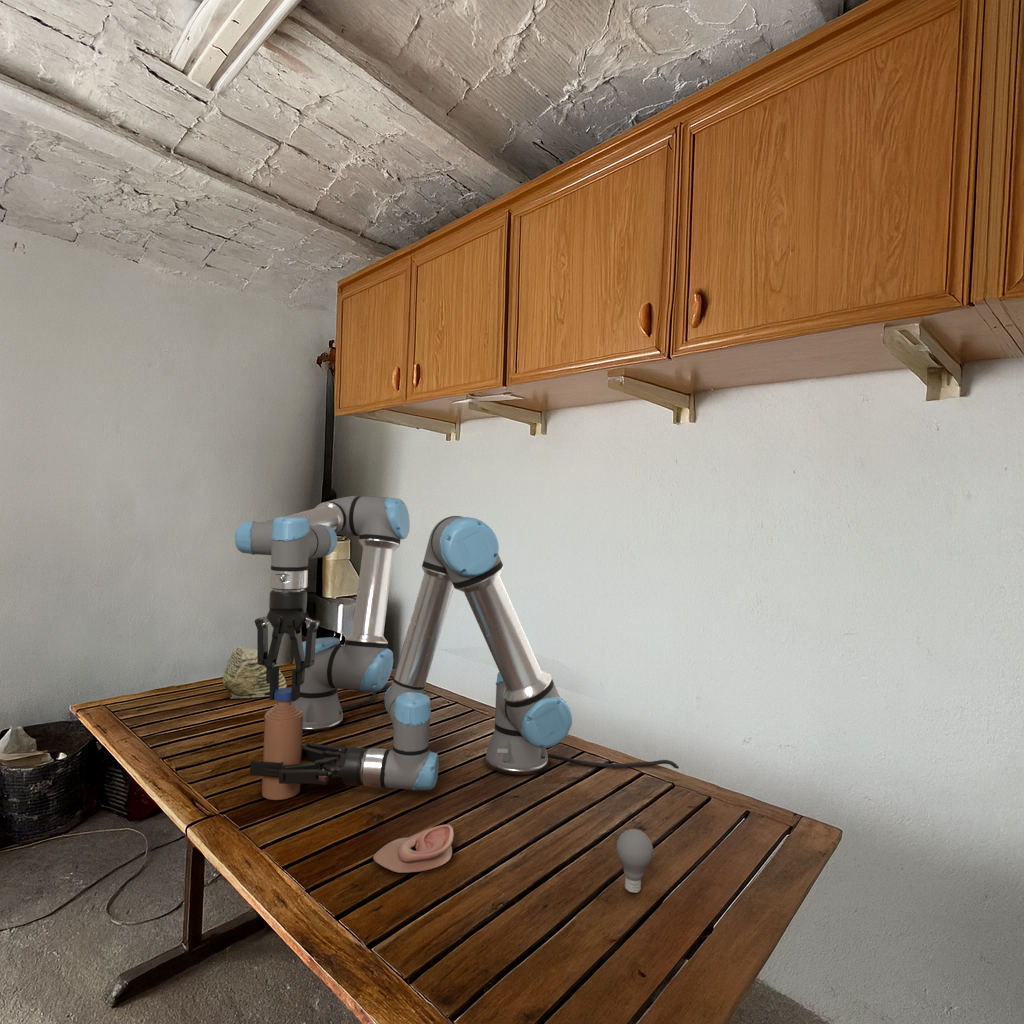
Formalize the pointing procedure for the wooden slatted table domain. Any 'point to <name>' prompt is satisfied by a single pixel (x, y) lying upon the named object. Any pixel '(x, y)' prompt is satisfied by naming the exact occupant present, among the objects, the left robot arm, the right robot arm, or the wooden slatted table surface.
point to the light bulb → (634, 857)
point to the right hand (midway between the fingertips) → (260, 759)
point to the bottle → (282, 746)
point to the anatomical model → (417, 851)
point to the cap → (283, 694)
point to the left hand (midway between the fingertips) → (284, 698)
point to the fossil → (247, 675)
